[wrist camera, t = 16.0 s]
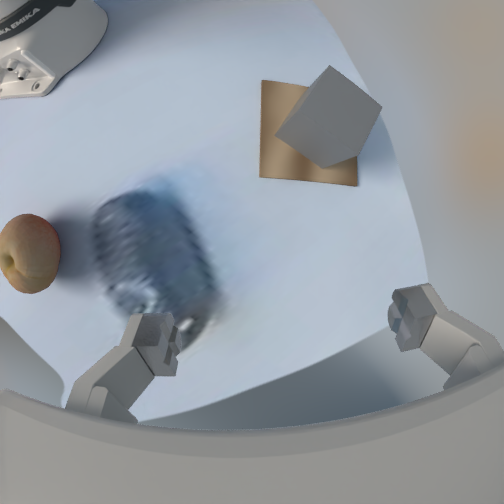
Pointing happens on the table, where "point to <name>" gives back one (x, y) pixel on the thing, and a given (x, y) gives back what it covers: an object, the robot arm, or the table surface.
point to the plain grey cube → (330, 120)
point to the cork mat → (284, 156)
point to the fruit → (29, 253)
